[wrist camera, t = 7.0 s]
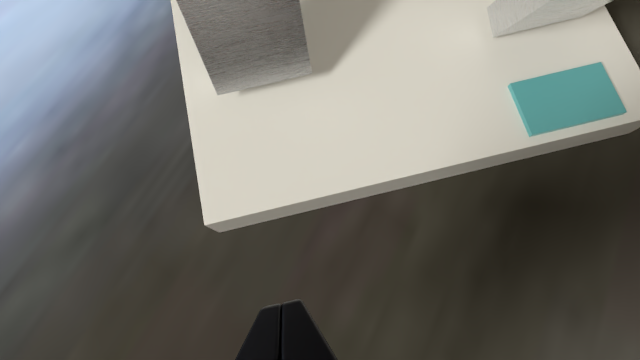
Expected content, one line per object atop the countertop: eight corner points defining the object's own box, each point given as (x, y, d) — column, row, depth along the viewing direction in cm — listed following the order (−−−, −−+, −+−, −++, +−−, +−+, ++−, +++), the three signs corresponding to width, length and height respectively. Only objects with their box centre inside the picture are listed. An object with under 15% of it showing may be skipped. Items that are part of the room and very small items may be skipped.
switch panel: (628, 133, 22) (669, 111, 19) (219, 232, 21) (202, 224, 18) (533, -52, 25) (556, -92, 23) (186, 27, 25) (168, -4, 22)
